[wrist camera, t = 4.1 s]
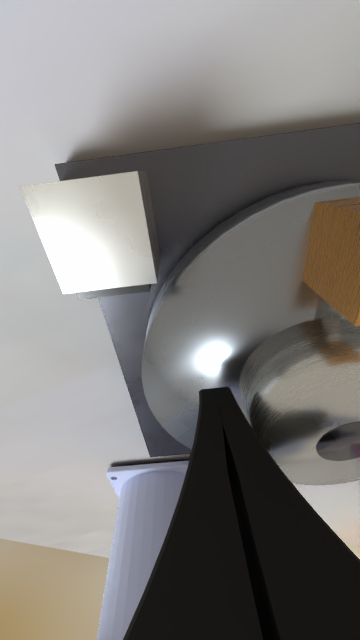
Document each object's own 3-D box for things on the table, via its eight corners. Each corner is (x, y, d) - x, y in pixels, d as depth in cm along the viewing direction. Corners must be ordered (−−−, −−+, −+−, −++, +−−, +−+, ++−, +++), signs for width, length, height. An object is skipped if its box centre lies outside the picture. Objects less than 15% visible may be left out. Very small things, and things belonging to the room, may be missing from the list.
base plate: (396, 424, 18) (439, 475, 15) (151, 446, 18) (146, 498, 15) (594, 93, 8) (831, 52, 5) (63, 164, 9) (10, 162, 6)
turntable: (394, 428, 16) (465, 512, 12) (167, 447, 16) (166, 534, 13) (559, 152, 8) (930, 137, 4) (109, 209, 8) (55, 244, 5)
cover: (361, 411, 12) (413, 477, 9) (240, 425, 12) (258, 493, 10) (401, 306, 9) (495, 364, 6) (236, 330, 9) (261, 394, 7)
